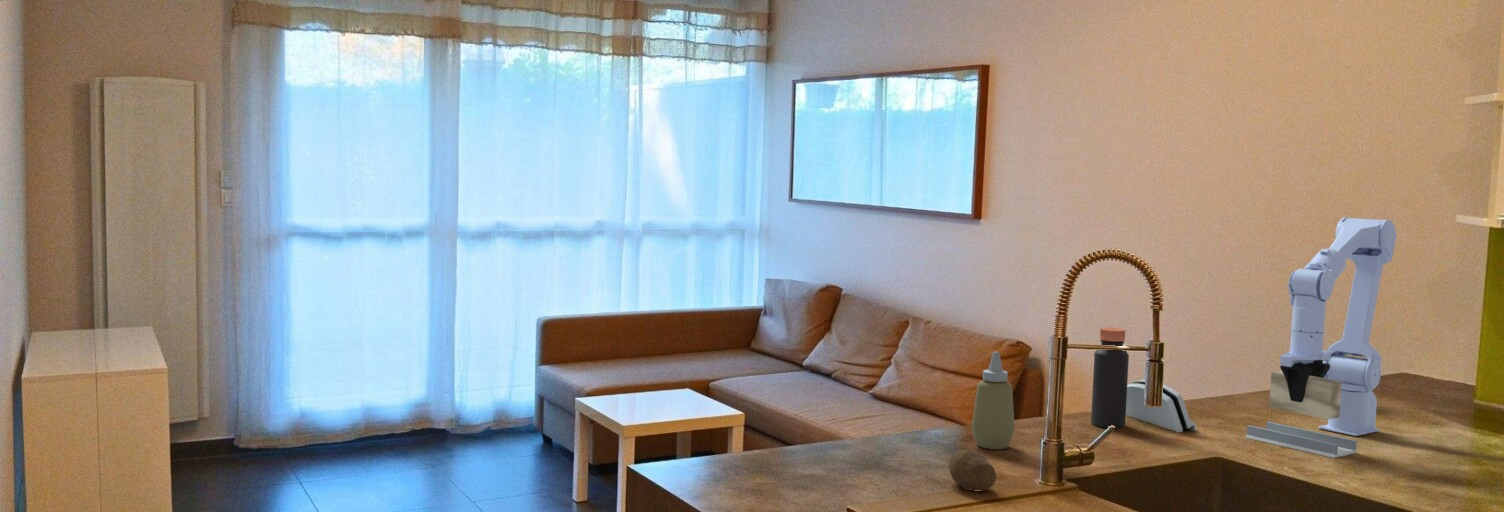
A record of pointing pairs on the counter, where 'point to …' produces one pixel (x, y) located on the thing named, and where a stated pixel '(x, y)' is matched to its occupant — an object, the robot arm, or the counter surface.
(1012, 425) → the squeeze bottle
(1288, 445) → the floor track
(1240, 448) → the counter surface
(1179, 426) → the light blue curved block
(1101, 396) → the dark grey water bottle
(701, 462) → the counter surface
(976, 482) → the potato
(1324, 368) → the robot arm
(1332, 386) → the door panel
